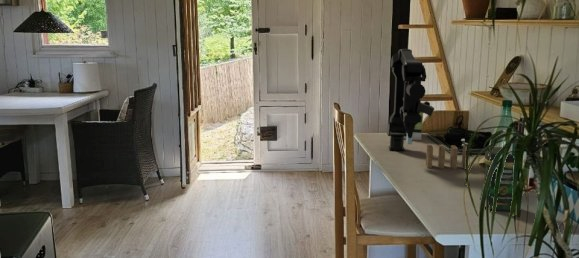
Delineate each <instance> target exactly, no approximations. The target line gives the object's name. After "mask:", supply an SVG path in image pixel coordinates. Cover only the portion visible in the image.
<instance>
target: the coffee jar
mask: <svg viewBox="0 0 579 258" xmlns="http://www.w3.org/2000/svg"><path fill="white" fill-rule="evenodd" d="M493 147H494V149H493V151H492V152H491V159H490V162H489V156H488V150H487V151H486V150H485V153H484V158H483V160H484V164H485V172H484V179H483V183H482V186H481V187H482V188H481V193H480V198H479V201H480V200H481V196H482V192H483V188H484V184H485V181H486V177H487V173H488V170H489V167H490V165H491V163H492V160H493V159H494V157H495V155H496V154H497V152H498V151H499V150H500V149H501V148H502V147H503V146H493ZM513 165H514V158H513V156H512V155H511V154H509V155H508V157H507V159H506V162H505V167H504V172H503V175H502V178H501V182H500V188H499V194H498V200H497V207H496V210H495V211H508V212H509V210H510V206H511V201H512V181H513ZM496 172H497V169H496V170H495V172H494V174H493V177H492V181H491V187H490V196H489V205H490V208H491V209H492V206H493V198H494V186H495V179H496ZM491 209H490V210H491ZM510 211H511V210H510Z"/></svg>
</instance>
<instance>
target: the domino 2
mask: <svg viewBox="0 0 579 258" xmlns="http://www.w3.org/2000/svg"><path fill="white" fill-rule="evenodd" d="M425 154H426V155H425V156H426V157H425V166H426V168H427V169H432V168H433V157H434V147H433V145H432V144H426V153H425Z"/></svg>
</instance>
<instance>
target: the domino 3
mask: <svg viewBox="0 0 579 258" xmlns="http://www.w3.org/2000/svg"><path fill="white" fill-rule="evenodd" d="M437 155H438V156H437V167H438V168H439V169H442V170H445V160H446V146H445V145H443V144H439V145H438V154H437Z"/></svg>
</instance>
